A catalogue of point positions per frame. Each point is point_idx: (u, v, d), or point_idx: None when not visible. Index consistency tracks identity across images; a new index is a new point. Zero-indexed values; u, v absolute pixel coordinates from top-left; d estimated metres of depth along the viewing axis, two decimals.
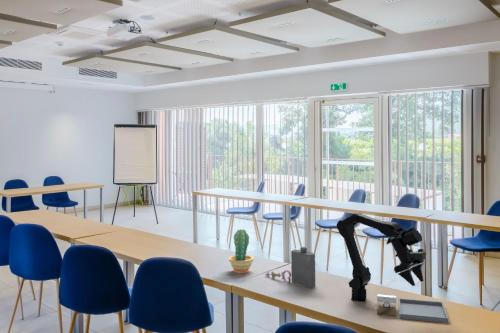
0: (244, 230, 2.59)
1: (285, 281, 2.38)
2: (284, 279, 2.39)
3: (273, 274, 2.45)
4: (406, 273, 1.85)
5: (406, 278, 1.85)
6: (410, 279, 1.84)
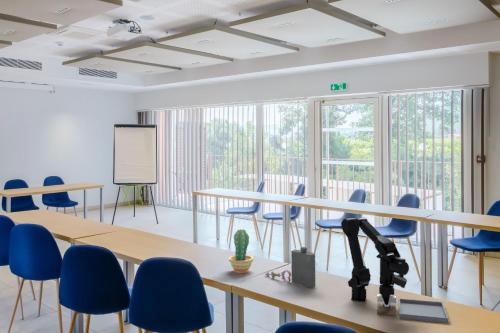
0: (244, 230, 2.59)
1: (285, 281, 2.38)
2: (284, 279, 2.39)
3: (273, 274, 2.45)
4: None
5: (384, 297, 1.92)
6: (387, 299, 1.92)
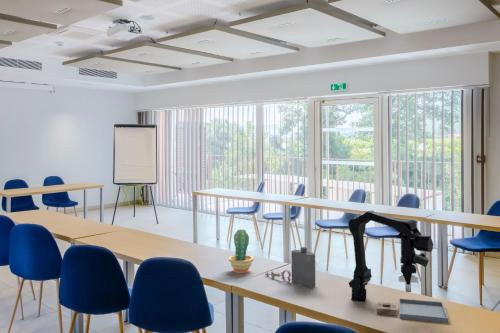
0: (244, 230, 2.59)
1: (285, 281, 2.38)
2: (284, 279, 2.39)
3: (273, 274, 2.45)
4: None
5: (405, 276, 1.90)
6: (409, 278, 1.90)
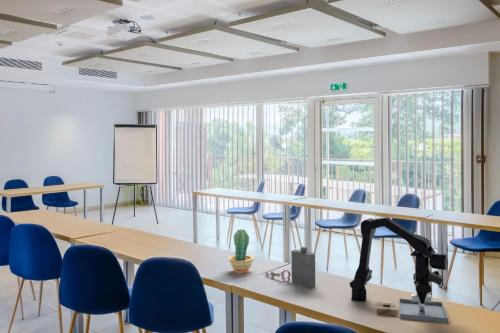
0: (244, 230, 2.59)
1: (284, 280, 2.38)
2: (283, 279, 2.39)
3: (272, 274, 2.45)
4: (422, 292, 1.88)
5: (420, 296, 1.88)
6: (423, 298, 1.88)
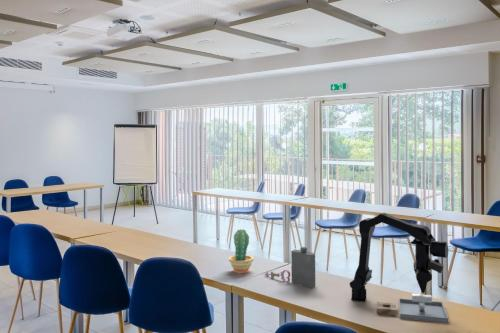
0: (244, 230, 2.59)
1: (284, 281, 2.39)
2: (283, 279, 2.39)
3: (272, 274, 2.45)
4: None
5: (420, 284, 1.87)
6: (424, 287, 1.87)
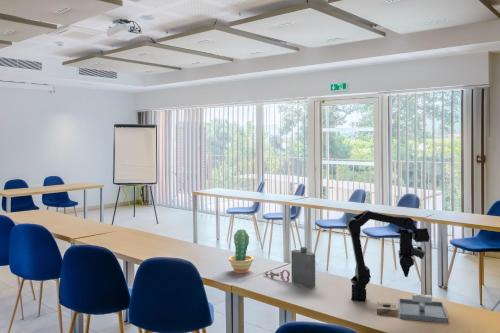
0: (244, 230, 2.59)
1: (284, 280, 2.39)
2: (283, 278, 2.40)
3: (272, 274, 2.46)
4: (406, 265, 2.04)
5: (404, 269, 2.04)
6: (407, 271, 2.04)
